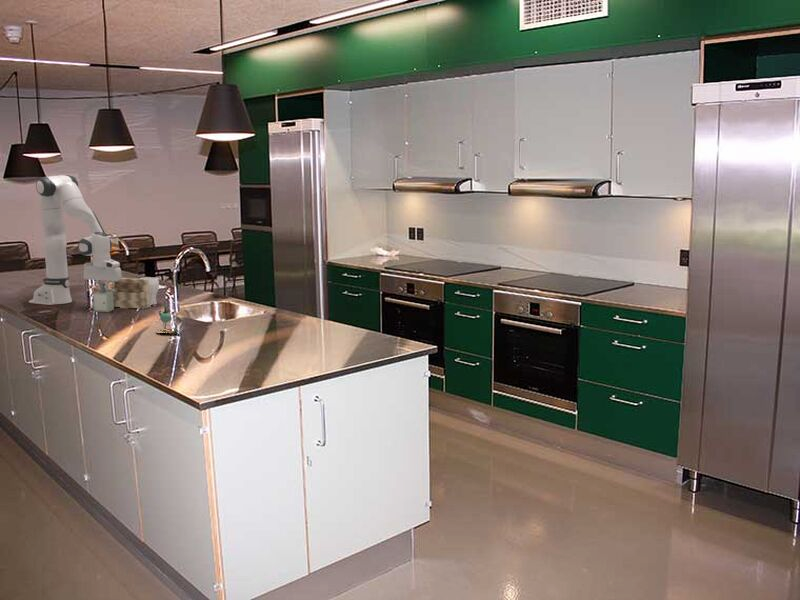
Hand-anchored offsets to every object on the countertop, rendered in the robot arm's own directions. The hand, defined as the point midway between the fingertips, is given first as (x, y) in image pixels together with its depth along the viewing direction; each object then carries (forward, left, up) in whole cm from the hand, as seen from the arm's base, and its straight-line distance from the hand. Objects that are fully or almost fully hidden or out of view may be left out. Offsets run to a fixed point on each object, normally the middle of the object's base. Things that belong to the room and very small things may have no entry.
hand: (103, 288), depth 405 cm
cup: (+15, +23, -12) cm, 30 cm away
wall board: (+9, +13, -12) cm, 20 cm away
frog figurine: (+56, -44, -12) cm, 72 cm away
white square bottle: (0, 0, -12) cm, 12 cm away
